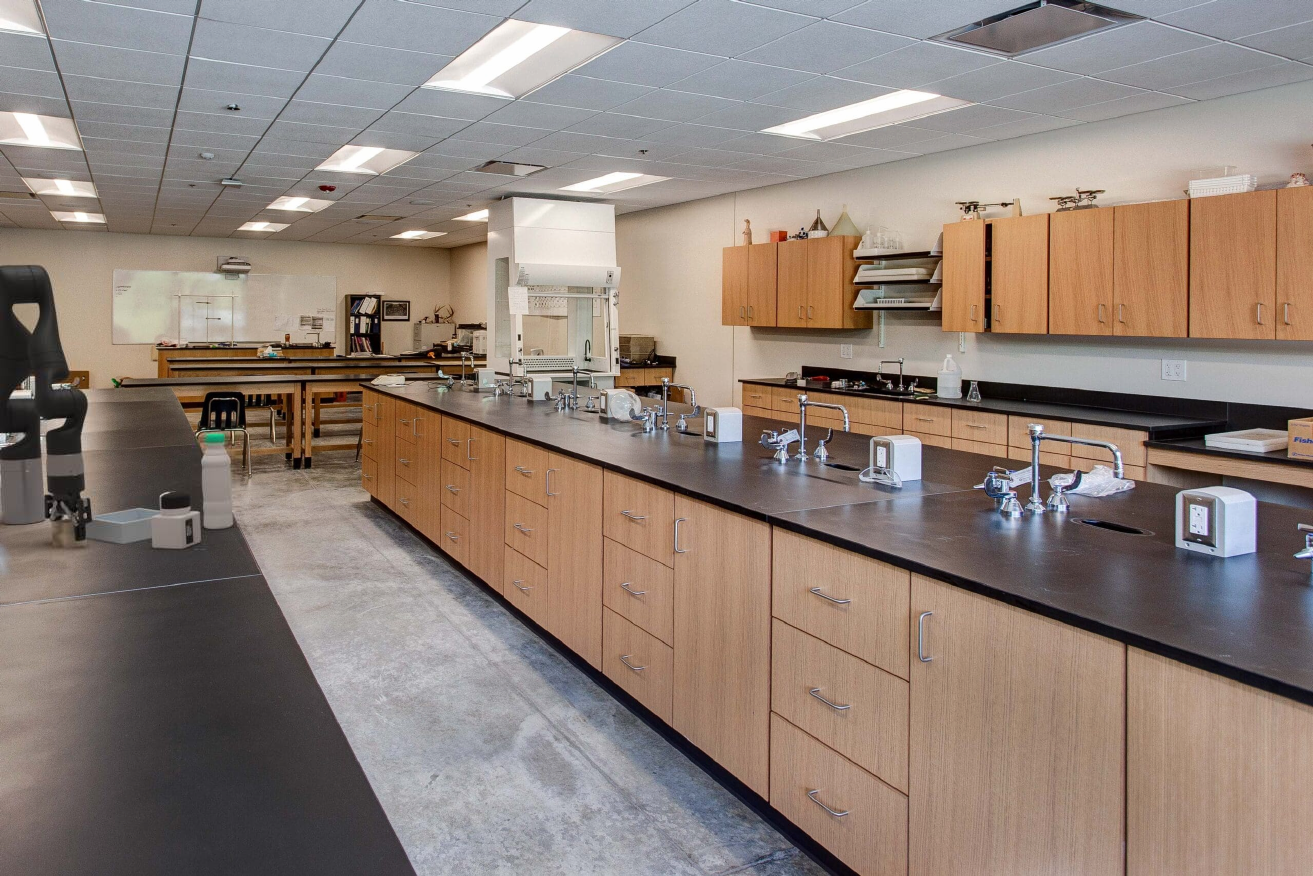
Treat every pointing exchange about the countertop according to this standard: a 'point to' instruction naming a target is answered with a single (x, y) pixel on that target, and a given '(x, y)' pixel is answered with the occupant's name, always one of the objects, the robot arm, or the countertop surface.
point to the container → (175, 522)
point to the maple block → (65, 534)
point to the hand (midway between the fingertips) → (69, 538)
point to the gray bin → (122, 526)
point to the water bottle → (216, 484)
